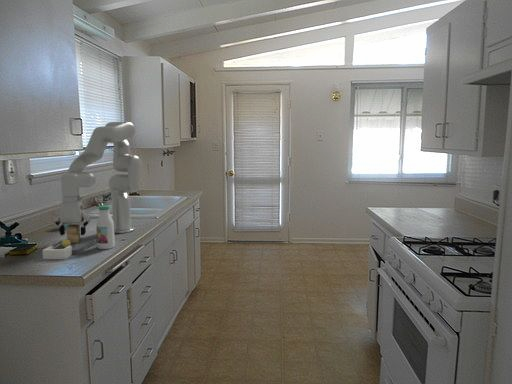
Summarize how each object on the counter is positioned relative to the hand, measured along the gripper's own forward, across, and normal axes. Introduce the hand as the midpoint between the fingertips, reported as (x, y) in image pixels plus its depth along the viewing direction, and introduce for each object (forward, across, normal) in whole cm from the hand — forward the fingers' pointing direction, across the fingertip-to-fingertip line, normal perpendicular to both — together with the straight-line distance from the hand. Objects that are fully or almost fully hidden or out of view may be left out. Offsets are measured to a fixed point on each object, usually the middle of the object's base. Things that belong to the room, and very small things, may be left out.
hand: (72, 234), depth 186 cm
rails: (+4, 0, +9) cm, 9 cm away
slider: (+4, 0, 0) cm, 4 cm away
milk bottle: (+6, -16, +2) cm, 17 cm away
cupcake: (+6, +22, -38) cm, 44 cm away
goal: (+6, 0, +16) cm, 17 cm away
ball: (+2, 0, +8) cm, 8 cm away
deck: (+6, 0, +4) cm, 7 cm away
